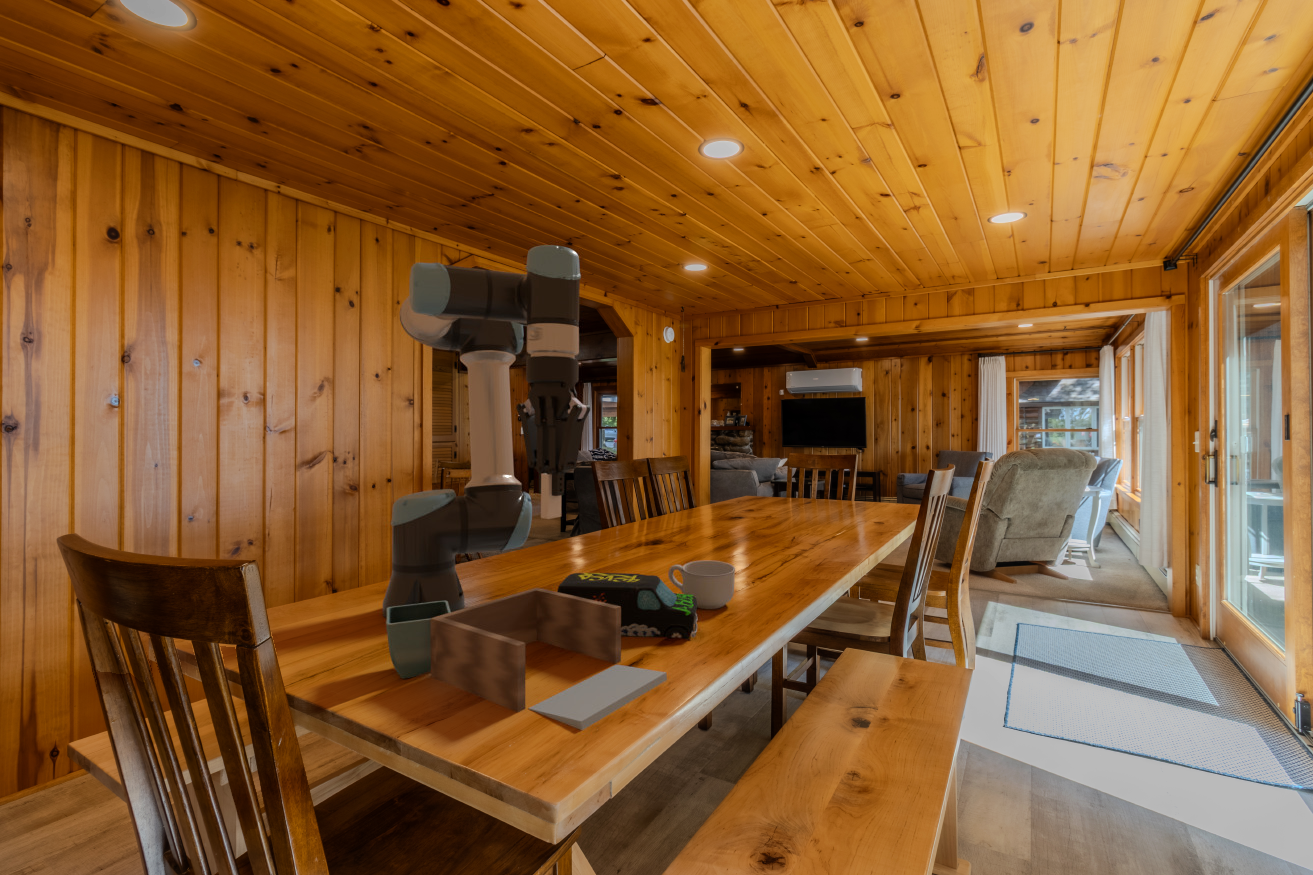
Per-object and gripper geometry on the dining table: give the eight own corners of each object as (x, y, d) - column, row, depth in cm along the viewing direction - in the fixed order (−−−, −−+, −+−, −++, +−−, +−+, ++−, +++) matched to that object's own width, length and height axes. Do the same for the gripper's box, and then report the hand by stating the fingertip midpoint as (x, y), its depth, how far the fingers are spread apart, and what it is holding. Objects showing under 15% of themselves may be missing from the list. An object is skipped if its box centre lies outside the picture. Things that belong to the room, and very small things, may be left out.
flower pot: (386, 687, 84) (385, 623, 84) (386, 664, 92) (386, 606, 92) (452, 677, 88) (452, 615, 88) (447, 656, 96) (447, 599, 96)
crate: (430, 685, 85) (430, 618, 85) (537, 644, 101) (537, 587, 101) (518, 722, 74) (517, 645, 74) (620, 669, 91) (621, 606, 91)
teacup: (743, 602, 125) (743, 564, 125) (720, 616, 116) (720, 575, 116) (685, 592, 133) (685, 556, 133) (658, 604, 124) (658, 565, 124)
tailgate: (528, 708, 75) (581, 721, 70) (616, 664, 89) (666, 672, 84) (529, 717, 75) (582, 731, 70) (617, 672, 89) (667, 681, 84)
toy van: (696, 648, 100) (697, 588, 100) (549, 643, 102) (549, 584, 102) (698, 626, 111) (698, 572, 110) (564, 622, 113) (564, 569, 113)
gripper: (502, 356, 89) (501, 515, 90) (567, 352, 82) (565, 526, 83) (540, 359, 95) (538, 509, 96) (603, 357, 88) (601, 518, 89)
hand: (551, 516), depth 90 cm, fingers closed
